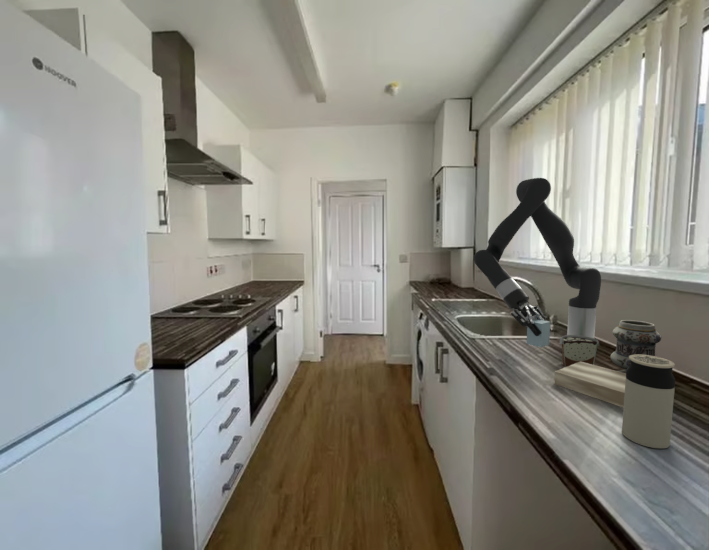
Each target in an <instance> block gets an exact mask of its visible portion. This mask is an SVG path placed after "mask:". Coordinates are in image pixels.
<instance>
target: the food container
mask: <svg viewBox="0 0 709 550" xmlns="http://www.w3.org/2000/svg"><path fill="white" fill-rule="evenodd" d="M559 344H560V345H561V352H562V353H561V355H562V357H561V359H562V366H563V368H565V367H567V366H570V365H573V364H575V363H578V362H580V361H581V362H585V363H589V364H592V365H595V360H596V355H597V349H598V347H599V346H600V341H599V339H598V338H595V337H594V338H591V337H586V336H579V335H567V334H565V335H562V336H561V337H560V339H559Z"/></svg>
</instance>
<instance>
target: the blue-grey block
mask: <svg viewBox="0 0 709 550" xmlns="http://www.w3.org/2000/svg"><path fill="white" fill-rule="evenodd" d="M533 322H534V324H535V325H536V326H537V327H538V328H539V330H540V331H541V332H542V333H541V334H540V335H539V336H535V335H534V333H533V332H532V331H531V330H530V328H529V327H526V344H527V345H530V346H534V347H539V348H543V347H544V348H545V347H548V346H549V345H550V333H551V331H550V329H551V321H548V320H545V321H544V320H538V319H537V318H536V319H534V320H533Z"/></svg>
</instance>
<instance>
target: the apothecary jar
mask: <svg viewBox="0 0 709 550" xmlns="http://www.w3.org/2000/svg"><path fill="white" fill-rule="evenodd" d="M612 335H613V336H614V337H615V338H616V345H615V347H616V348H615V351H613V352H612V353H611V354H610V360H611V361H612V363H613V364H614V365H616V366H618V367H619V368H621V369H620V370H617V371H618V372H622V373H626V370H627V369H628V367H629V366H630V365H631V363H630V359H629V356H630V355H635V354H641V355H650V356H656V345H657V344H658V343H660V342H661V341H662V335H661V334H660V333H659V332H658V331H657V329H656V326H655V324H654V323H651V322H647V321H643V320H642V321H641V320H634V319H633V320H632V319H622V320H619V324H618V326H615V327H614V328H613V330H612Z"/></svg>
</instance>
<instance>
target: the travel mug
mask: <svg viewBox="0 0 709 550" xmlns="http://www.w3.org/2000/svg"><path fill="white" fill-rule="evenodd" d="M629 359H630V363H631V365H630V366H629V367H628V369H627V370H626V369H625V370H626V382H625V396H624V408H623V411H622V412H623V413H622V423H621V424H622V426H621V433H622V434H623V435H624V437H626V439H628V440H630V441H632V442H633V443H636V444H637V445H641V446H643V447H647V448H652V449H667V448H669V447H670V444H671V435H672V422H673V421H672V420H673V411H674V400H675V399H674V398H675V388H676V378H675V376H674V374H673V373H672V371H673V368H675V366H676V364H675V363H674V361H672V360H669V359H666V358H663V357H660V356H656V355H655V356H650V355H641V354H635V355H630V356H629Z"/></svg>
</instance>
